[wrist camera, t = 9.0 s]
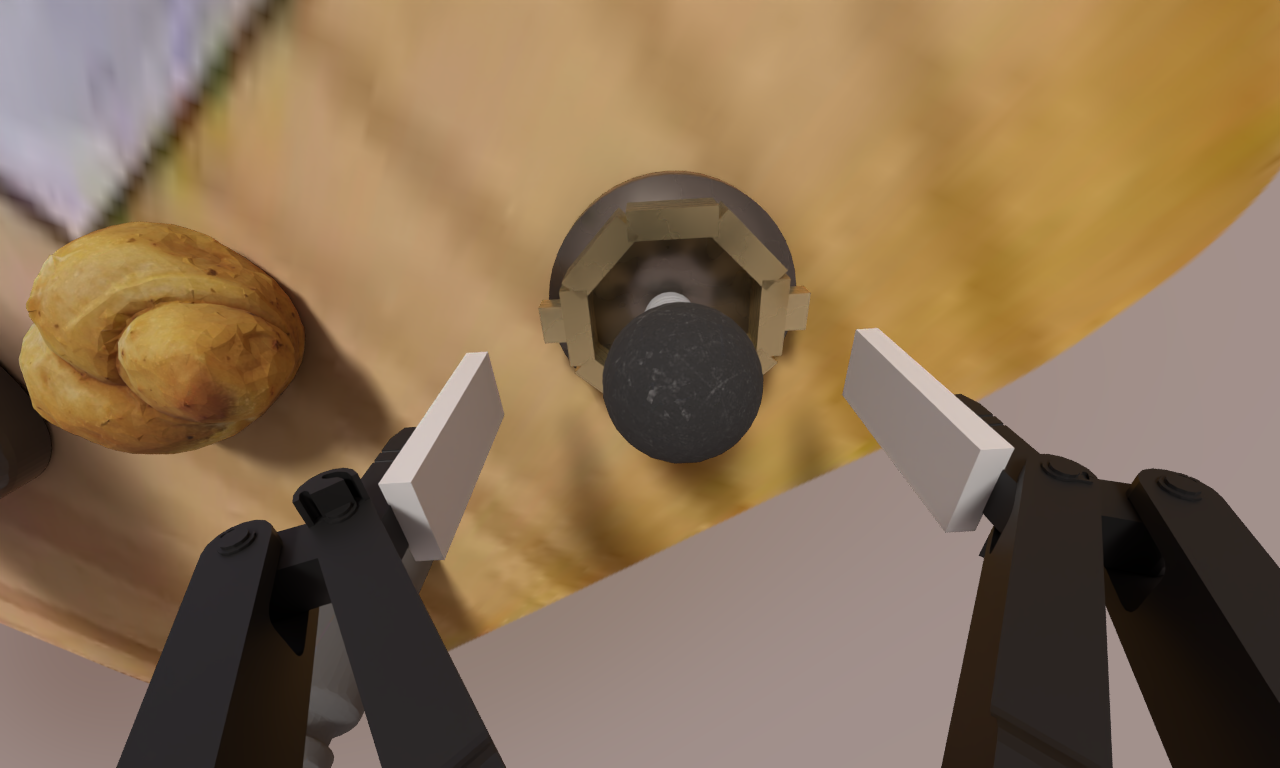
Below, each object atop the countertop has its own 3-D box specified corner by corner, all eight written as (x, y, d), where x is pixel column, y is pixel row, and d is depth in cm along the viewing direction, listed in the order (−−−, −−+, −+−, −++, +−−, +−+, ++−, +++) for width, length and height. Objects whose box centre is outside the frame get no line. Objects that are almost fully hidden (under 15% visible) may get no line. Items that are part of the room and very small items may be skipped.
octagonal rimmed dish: (567, 400, 27) (558, 436, 24) (530, 179, 21) (511, 190, 18) (778, 390, 26) (796, 425, 23) (805, 161, 20) (835, 170, 17)
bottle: (369, 576, 35) (213, 844, 22) (340, 523, 32) (140, 798, 19) (443, 574, 35) (329, 842, 22) (421, 521, 32) (274, 795, 19)
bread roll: (242, 441, 28) (116, 545, 22) (69, 328, 24) (-154, 412, 18) (366, 326, 24) (259, 410, 18) (183, 169, 20) (-49, 198, 14)
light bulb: (590, 326, 23) (562, 454, 14) (652, 228, 20) (665, 308, 12) (682, 378, 24) (708, 522, 15) (749, 293, 22) (824, 406, 13)
